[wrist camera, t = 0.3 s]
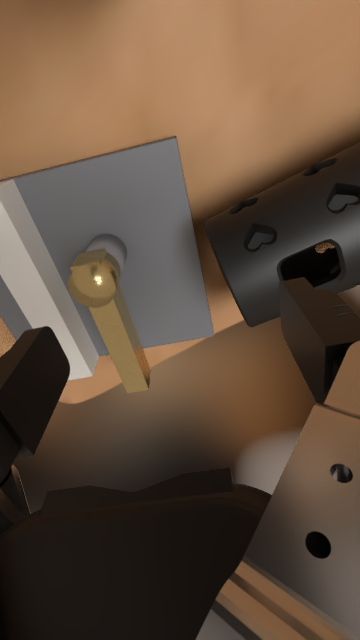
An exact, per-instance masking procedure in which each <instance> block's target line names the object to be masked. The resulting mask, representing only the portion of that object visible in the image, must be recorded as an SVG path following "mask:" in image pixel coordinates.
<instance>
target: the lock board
mask: <svg viewBox="0 0 360 640" xmlns="http://www.w3.org/2000/svg"><path fill="white" fill-rule="evenodd" d="M103 248H105V249H106V251H107V253H109V254H111V255H112V256H113V257H114V258H115V259H116V260H117V261H118V263H119V265H120V268H121V277H120V280H119V283H118V284H119V286H120V289H121V292H122V295H123V297H124V300H125V303H126V305H127V308H128V311H129V313H130V316H131V319H132V321H133V324H134V327H135V330H136V332H137V335H138V338H139V340H140V343H141V346H142V348H148V347H154V346H160V345H165V344H171V343H177V342H183V341H188V340H194V339H200V338H205V337H211V336H214V332H213V326H212V321H211V316H210V310H209V305H208V300H207V295H206V290H205V284H204V279H203V274H202V269H201V263H200V258H199V253H198V248H197V243H196V237H195V232H194V227H193V222H192V217H191V211H190V206H189V201H188V196H187V190H186V185H185V180H184V175H183V170H182V164H181V159H180V154H179V149H178V143H177V138H176V136H173V137H169V138H165V139H161V140H158V141H154V142H150V143H146V144H142V145H138V146H134V147H130V148H126V149H122V150H118V151H114V152H110V153H106V154H102V155H98V156H94V157H90V158H86V159H82V160H78V161H74V162H70V163H66V164H62V165H58V166H54V167H50V168H46V169H42V170H38V171H34V172H30V173H26V174H22V175H19V176H15V177H11V178H7V179H3V180H0V316H1V318H2V319H3V321H4V322H5V324H6V325H7V327H8V328H9V330H10V331H11V333H12V335H13V336H14V338H15V339H16V341H17V340H18V339H19V337H20V336H21V335H22V333H23V332H24V331H25V330H28V329H34V328H39V327H44V326H48V327H50V328H51V329H52V330H53V331H54V333H55V335H56V337H57V339H58V341H59V343H60V345H61V347H62V349H63V351H64V352H65V354H66V356H67V358H68V361H69V364H70V375H69V378H68V380H74V379H80V378H86V377H92V376H93V374H94V371H95V368H96V364H97V361H98V358H99V356H103V355H109V351H108V349H107V347H106V345H105V343H104V340H103V338H102V336H101V334H100V332H99V330H98V327H97V325H96V323H95V321H94V319H93V316H92V314H91V312H90V310H89V308H88V307H87V306H84V305H82V304H80V303H79V302H77V301H76V300H75V299H74V298H73V297H72V295H71V294H70V291H69V288H68V280H69V277H70V275H71V274H72V270H71V268H70V267H71V266H72V264H73V263H74V261H75V259H76V258H77V256H78V255H79V254H80V253H84V252H89V251H93V250H98V249H103ZM68 380H67V381H68Z"/></svg>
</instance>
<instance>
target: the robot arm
mask: <svg viewBox="0 0 360 640" xmlns="http://www.w3.org/2000/svg"><path fill="white" fill-rule="evenodd" d="M279 299H280V317H281V328H282V332H283V336H284V339H285V341H286V343H287V345H288V347H289V349H290V351H291V353H292V355H293V357H294V359H295V361H296V363H297V365H298V367H299V369H300V371H301V373H302V375H303V377H304V379H305V381H306V383H307V385H308V387H309V389H310V391H311V393H312V395H313V397H314V399H315V401H316V404H315V405H314V407H313V409H312V411H311V413H310V415H309V418H308V419H307V422H306V424H305V426H304V428H303V430H302V432H301V434H300V437H299V439H298V441H297V443H296V445H295V447H294V450H293V452H292V454H291V456H290V458H289V460H288V462H287V465H286V467H285V469H284V471H283V473H282V475H281V477H280V480H279V482H278V484H277V486H276V488H275V490H274V492H273V494H272V495H271V494H269V493H267V492H264V491H262V490H259V489H257V488H254V487H251V486H247V485H243V484H237V483H233V479H232V475H231V470H230V468H224V469H216V470H208V471H200V472H192V473H185V474H181V475H178V476H176V477H173V478H171V479H168V480H165V481H163V482H160V483H158V484H155V485H153V486H150V487H147V488H145V489H142V490H140V491H137V492H127V491H120V490H114V489H107V488H102V487H96V486H83V487H75V488H68V489H60V490H53V491H48V492H47V494H46V497H45V500H44V503H43V505H42V508H41V509H39V510H37V511H36V512H34V513H32V514H30V511H29V507H28V504H27V501H26V497H25V494H24V490H23V487H22V484H21V481H20V477H19V474H18V471H17V469H16V468H15V467H14V465H13V463H14V461H15V459H16V458H20V457H27V456H33V455H34V454H35V452H36V449H37V447H38V445H39V443H40V440H41V438H42V436H43V434H44V431H45V429H46V427H47V425H48V423H49V420H50V418H51V416H52V414H53V411H54V409H55V407H56V405H57V402H58V400H59V398H60V396H61V394H62V391H63V389H64V387H65V385H66V382H67V380H68V378H69V375H70V364H69V361H68V358H67V356H66V354H65V352H64V351H63V349H62V347H61V345H60V343H59V341H58V339H57V337H56V335H55V333H54V331H53V330H52V329H51V328H50V327H48V326H44V327H39V328H34V329H28V330H25V331H24V332H23V333H22V335H21V336H20V337H19V339H18V340H17V341H16V343H15V344H14V345H13V346H12V348H11V349H10V350H9V351H7V352H6V353H5V354H4V355H2V356H1V358H0V640H360V317H359V316H358V315H357V314H356V313H354V311H353V310H352V309H351V308H350V307H349V306H347V305H346V303H345V302H344V301H343V300H342V299H341V298H340V297H339V296H338V295H337V294H335V293H333V292H330V291H328V290H326V289H319V290H315V289H314V288H313V287H312V285H311V284H310V283H309V282H308V281H307V279H306V278H304V277H302V278H296V279H291V280H286V281H281V282H280V283H279Z"/></svg>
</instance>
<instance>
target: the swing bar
mask: <svg viewBox="0 0 360 640" xmlns="http://www.w3.org/2000/svg"><path fill="white" fill-rule="evenodd" d="M70 268H71V270H72V274H71V275H70V277H69V280H68V288H69V291H70V294H71V295H72V297H73V298H74V299H75V300H76V301H77V302H79V303H80V304H82V305H84V306H87V307H88V308H89V310H90V312H91V314H92V316H93V319H94V321H95V323H96V325H97V327H98V330H99V332H100V334H101V336H102V338H103V340H104V343H105V345H106V347H107V349H108V351H109V354H110V356H111V358H112V360H113V362H114V365H115V367H116V369H117V371H118V373H119V376H120V378H121V380H122V382H123V384H124V386H125V389H126V391H127V393H131V392H138V391H144V390H149V384H150V374H151V370H150V367H149V365H148V362H147V359H146V357H145V354H144V351H143V348H142V346H141V343H140V340H139V338H138V335H137V332H136V330H135V327H134V324H133V321H132V319H131V316H130V313H129V311H128V308H127V305H126V303H125V300H124V297H123V295H122V292H121V289H120V286H119V284H118V283H119V280H120V277H121V268H120V265H119V263H118V261H117V260H116V259H115V258H114V257H113V256H112V255H111V254H109V253H107V251H106V249H105V248H103V249H98V250H93V251H89V252H84V253H80V254H79V255H78V256H77V258H76V259H75V261H74V263H73V264H72V266H71V267H70Z"/></svg>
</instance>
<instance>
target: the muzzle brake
mask: <svg viewBox="0 0 360 640" xmlns="http://www.w3.org/2000/svg"><path fill="white" fill-rule="evenodd" d="M204 224H205V229H206V232H207V235H208V238H209V240H210V243H211V246H212V248H213V251H214V253H215V256H216V258H217V261H218V263H219V266H220V268H221V270H222V273H223V275H224V277H225V280H226V282H227V284H228V286H229V289H230V291H231V293H232V295H233V297H234V299H235V302H236V304H237V306H238V308H239V310H240V312H241V314H242V316H243V318H244V320H245V321H246V323H247V325H248V326H249V327H255V326H257V325H260V324H262V323H265V322H267V321H269V320H272V319H275V318H277V317H280V299H279V283H280V282H281V281H286V280H291V279H296V278H302V277H304V278H306V279H307V281H308V282H309V283H310V284H311V285H312V287H313V288H314V289H315V290H319V289H326V290H328V291H330V292H333V293H335V294H338V293H341V292H343V291H345V290H348V289H351V288H353V287H355V286H357V285H360V142H359V143H357V144H355V145H353V146H351V147H349V148H347V149H345V150H343V151H341V152H339V153H337V154H335V155H333V156H331V157H329V158H327V159H325V160H323V161H321V162H319V163H317V164H315V165H313V166H311V167H309V168H307V169H305V170H304V171H302V172H300V173H298V174H296V175H294V176H292V177H290V178H288V179H286V180H284V181H282V182H280V183H278V184H276V185H274V186H272V187H270V188H268V189H266V190H264V191H262V192H260V193H258V194H256V195H254V196H252V197H250V198H248V199H246V200H244V201H242V202H240V203H238V204H236V205H235V206H233V207H231V208H229V209H227V210H225V211H223V212H221V213H219V214H217V215H215V216H213V217H211V218H209V219H207V220H205V223H204ZM325 242H329V243H331V244H332V245H334V246H335V248H328V249H326V250H325V252H324V253H318V252H316V251H315V247H316V246H317V245H319V244H321V243H325Z"/></svg>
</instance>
